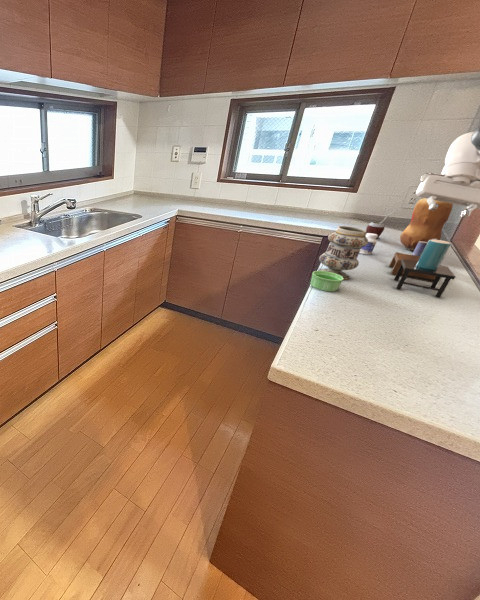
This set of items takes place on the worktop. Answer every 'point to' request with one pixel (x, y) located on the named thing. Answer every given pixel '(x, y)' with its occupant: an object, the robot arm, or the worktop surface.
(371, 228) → the mate gourd
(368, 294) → the worktop surface
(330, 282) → the ramekin
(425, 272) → the dark brown wooden table
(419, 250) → the flask
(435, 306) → the worktop surface
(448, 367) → the worktop surface
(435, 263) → the cup
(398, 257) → the brown display stand
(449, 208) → the butternut squash
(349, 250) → the apothecary jar
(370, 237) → the pill bottle
